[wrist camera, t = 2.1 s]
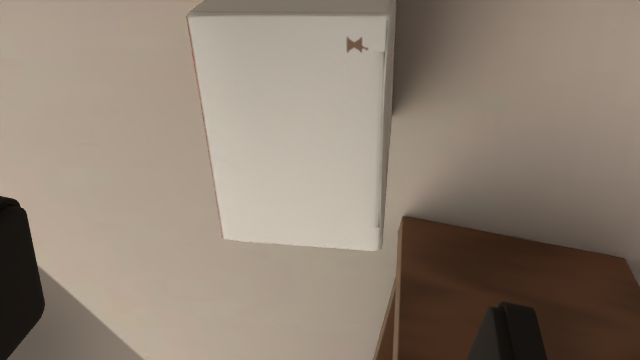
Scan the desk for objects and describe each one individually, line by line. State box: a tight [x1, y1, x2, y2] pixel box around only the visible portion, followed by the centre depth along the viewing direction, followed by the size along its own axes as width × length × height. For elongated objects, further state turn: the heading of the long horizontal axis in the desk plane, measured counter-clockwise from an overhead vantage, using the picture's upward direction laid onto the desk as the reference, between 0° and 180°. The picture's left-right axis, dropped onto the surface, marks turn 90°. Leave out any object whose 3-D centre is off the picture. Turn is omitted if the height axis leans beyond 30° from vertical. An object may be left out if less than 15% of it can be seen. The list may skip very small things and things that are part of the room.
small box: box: [186, 0, 396, 251], centre depth 20 cm, size 8×6×10 cm
